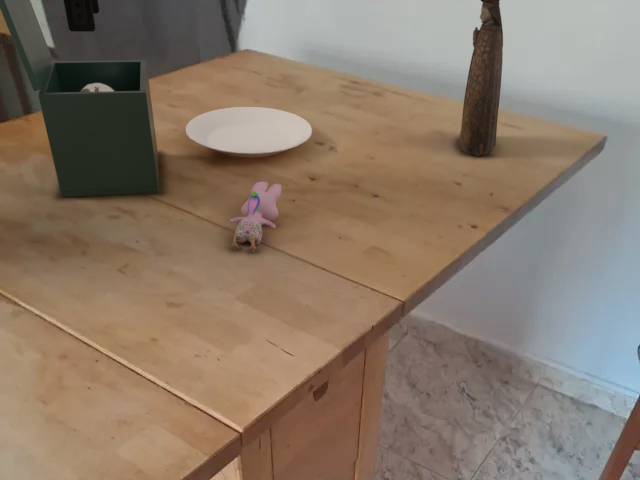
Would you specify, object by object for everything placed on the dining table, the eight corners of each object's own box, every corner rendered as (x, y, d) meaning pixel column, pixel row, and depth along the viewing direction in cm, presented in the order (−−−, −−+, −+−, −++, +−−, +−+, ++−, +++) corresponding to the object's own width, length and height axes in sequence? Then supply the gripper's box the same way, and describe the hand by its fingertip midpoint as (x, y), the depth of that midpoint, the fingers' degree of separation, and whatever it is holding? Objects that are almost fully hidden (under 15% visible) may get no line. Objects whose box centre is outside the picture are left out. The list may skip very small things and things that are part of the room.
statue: (443, 140, 119) (470, -31, 102) (479, 134, 121) (511, -33, 104) (472, 158, 113) (505, -19, 96) (509, 152, 116) (547, -22, 99)
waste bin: (157, 153, 110) (146, 59, 101) (159, 193, 100) (145, 92, 90) (70, 157, 108) (49, 61, 99) (61, 197, 98) (37, 94, 88)
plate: (228, 177, 104) (227, 163, 103) (165, 133, 117) (163, 119, 115) (336, 150, 114) (337, 136, 112) (267, 112, 126) (267, 99, 124)
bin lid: (5, -65, 88) (-31, -58, 88) (-14, -44, 78) (-55, -36, 78) (51, 57, 98) (19, 63, 98) (40, 90, 88) (4, 97, 88)
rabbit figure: (267, 262, 89) (293, 196, 98) (265, 223, 84) (292, 158, 93) (221, 256, 90) (251, 191, 99) (216, 217, 85) (248, 153, 94)
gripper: (30, -157, 84) (61, 6, 96) (10, -146, 71) (48, 39, 83) (94, -154, 85) (116, 6, 97) (85, -143, 73) (112, 39, 84)
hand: (85, 21), depth 90 cm, fingers open, 8 cm apart
